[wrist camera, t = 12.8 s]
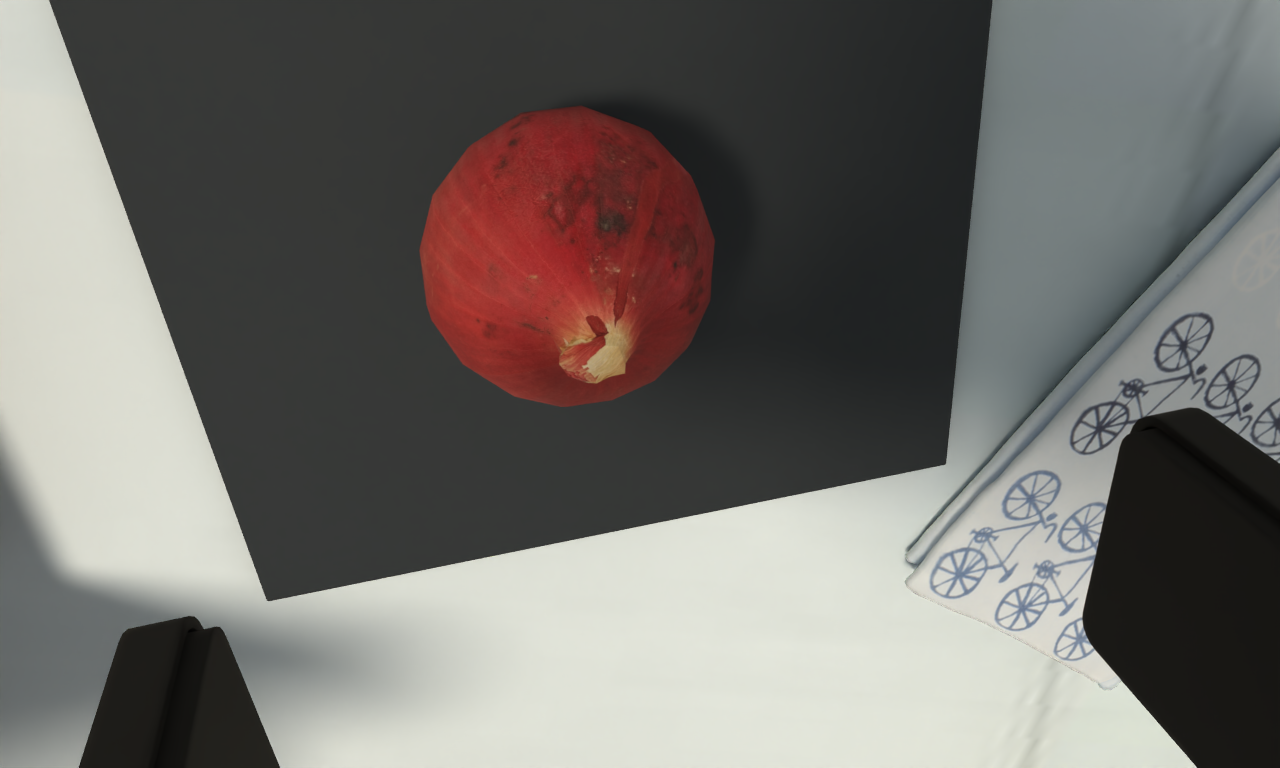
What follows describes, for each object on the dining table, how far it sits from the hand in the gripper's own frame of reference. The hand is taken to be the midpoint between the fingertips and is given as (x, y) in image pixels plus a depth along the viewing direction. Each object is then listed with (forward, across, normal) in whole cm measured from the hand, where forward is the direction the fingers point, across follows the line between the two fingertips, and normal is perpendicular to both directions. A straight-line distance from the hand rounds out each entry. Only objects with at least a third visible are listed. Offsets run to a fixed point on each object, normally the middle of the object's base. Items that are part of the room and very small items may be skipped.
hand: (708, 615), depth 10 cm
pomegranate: (+15, 0, +1) cm, 15 cm away
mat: (+15, -1, +1) cm, 15 cm away
